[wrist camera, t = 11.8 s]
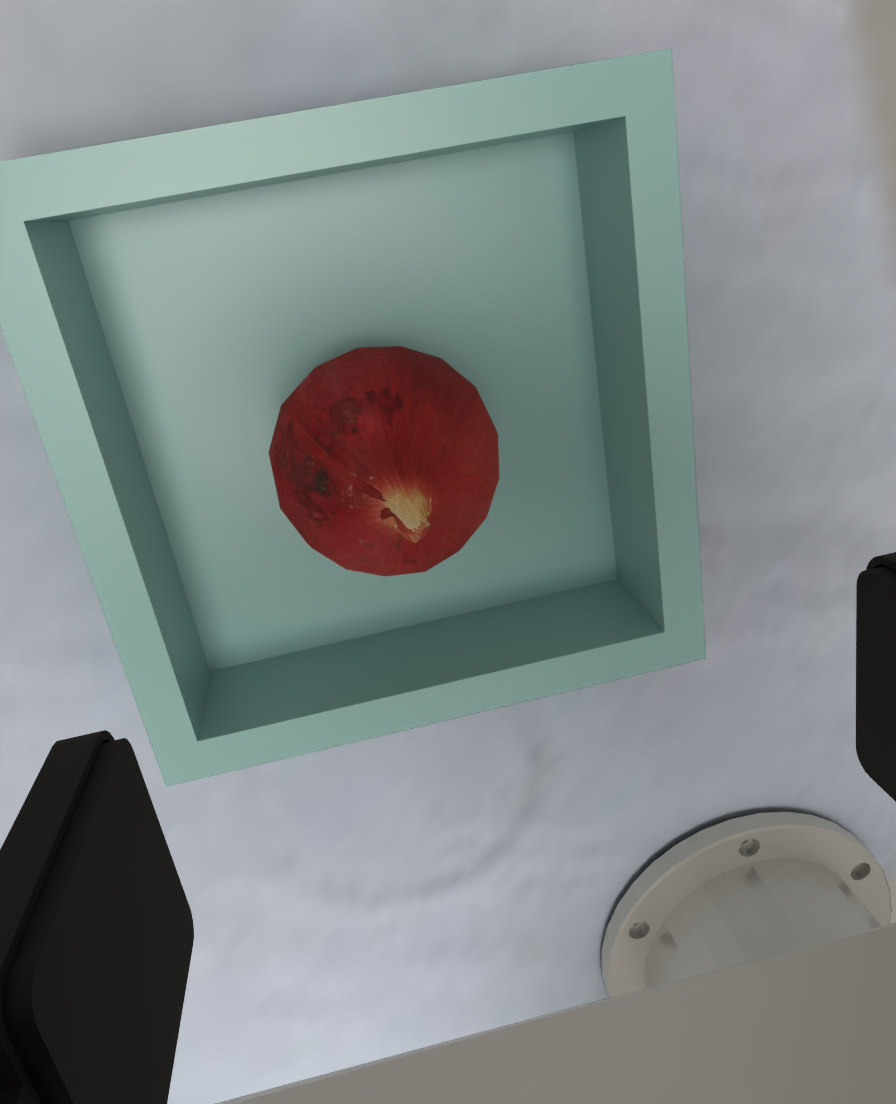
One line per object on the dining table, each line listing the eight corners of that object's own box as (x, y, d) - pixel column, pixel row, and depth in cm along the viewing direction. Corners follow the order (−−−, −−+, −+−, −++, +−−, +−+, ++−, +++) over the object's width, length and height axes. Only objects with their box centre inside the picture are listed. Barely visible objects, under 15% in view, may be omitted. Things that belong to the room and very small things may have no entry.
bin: (643, 591, 30) (706, 658, 26) (186, 695, 29) (166, 786, 24) (599, 80, 24) (671, 48, 19) (15, 180, 23) (-56, 170, 18)
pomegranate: (255, 494, 26) (233, 606, 18) (303, 302, 24) (300, 340, 17) (440, 539, 27) (489, 660, 20) (497, 361, 25) (575, 420, 18)
